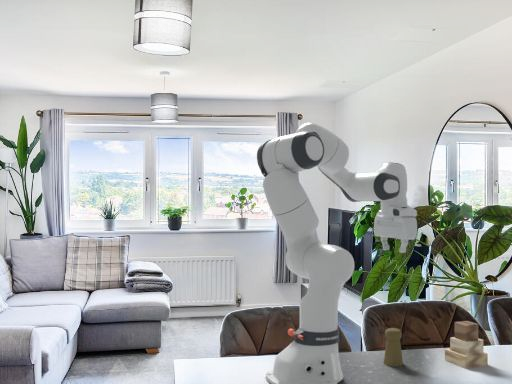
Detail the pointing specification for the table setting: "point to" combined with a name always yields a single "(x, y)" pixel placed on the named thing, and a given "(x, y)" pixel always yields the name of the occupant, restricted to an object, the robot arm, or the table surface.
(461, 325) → the walnut cube
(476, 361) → the tower base
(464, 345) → the tower mid
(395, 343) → the cork
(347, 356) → the table surface
